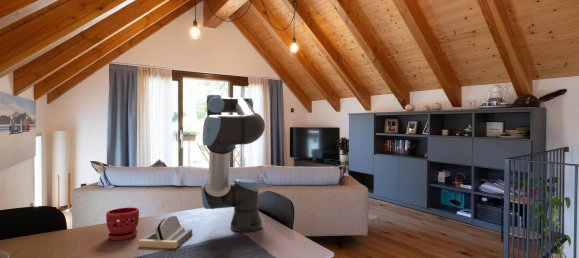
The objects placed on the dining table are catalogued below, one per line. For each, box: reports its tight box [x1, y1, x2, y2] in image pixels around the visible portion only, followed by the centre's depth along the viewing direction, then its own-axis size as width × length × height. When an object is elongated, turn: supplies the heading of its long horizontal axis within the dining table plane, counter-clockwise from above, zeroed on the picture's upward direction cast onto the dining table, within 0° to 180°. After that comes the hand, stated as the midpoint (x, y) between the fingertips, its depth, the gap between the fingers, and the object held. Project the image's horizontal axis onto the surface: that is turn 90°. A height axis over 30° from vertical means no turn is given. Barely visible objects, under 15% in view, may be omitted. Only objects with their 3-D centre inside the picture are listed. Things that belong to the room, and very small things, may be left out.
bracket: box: [138, 228, 193, 249], centre depth 138 cm, size 16×16×2 cm
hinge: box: [154, 215, 186, 240], centre depth 142 cm, size 17×5×10 cm, turn 177°
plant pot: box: [105, 206, 140, 241], centre depth 144 cm, size 13×13×12 cm
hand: (214, 168), depth 169 cm, fingers closed
